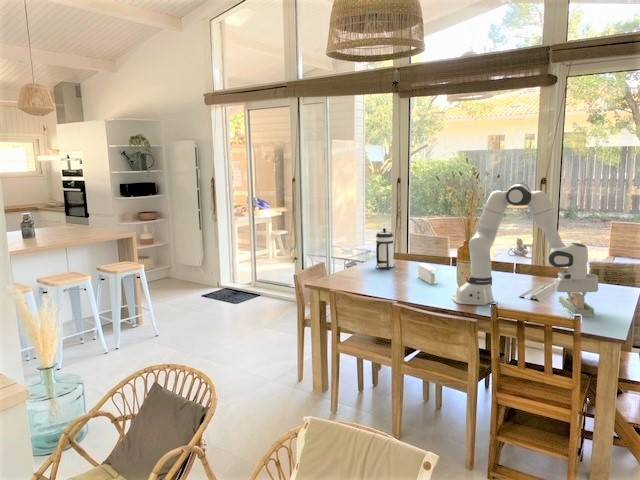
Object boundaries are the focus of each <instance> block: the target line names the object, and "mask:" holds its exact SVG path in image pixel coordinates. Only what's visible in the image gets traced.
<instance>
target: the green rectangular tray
mask: <svg viewBox="0 0 640 480" xmlns="http://www.w3.org/2000/svg"><path fill="white" fill-rule="evenodd" d="M558 299H559V300H558V303H561V304H562V305H563V306H564V307H565V308H567V309H568V310H569V311H571V312H572V313H573V314H581V315H582V317H583V316H587V317H588V318H589V317H594V314H595V309H594V307H592V306H591V305H589V304H588V303H587V302H586V301H584V309H578V308H576V307H575V306H574V305H573V304H572V303H571V302H570V301H569V300H568V297H565V296H561V295H559V297H558ZM561 304H560V305H561ZM562 305H561V306H562ZM563 306H562V307H563ZM564 307H563V308H564ZM565 308H564V309H565ZM568 310H567V311H568ZM569 311H568V312H569Z"/></svg>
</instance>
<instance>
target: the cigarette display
mask: <svg viewBox="0 0 640 480" xmlns="http://www.w3.org/2000/svg"><path fill="white" fill-rule="evenodd" d="M417 270H418V278H420V279H421V280H423V281H424V282H426V283H428V284H429V285H433V284H438V282H437V281H436V276H435V275H436V274H435V273H433V272H432V271H438V269H437V268H436V267H434V266H432V265H430V264H428V263H418V269H417Z"/></svg>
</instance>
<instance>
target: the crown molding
mask: <svg viewBox="0 0 640 480" xmlns="http://www.w3.org/2000/svg"><path fill="white" fill-rule="evenodd" d="M555 284H556V282H553V283H551V284H548V285H547V286H546V287H545V288H544V289H542V290H540V291H539V292H537V293H535V294H533V295H532V296H531V297H530V298H532V299H533V300H535V299H540V298H542V297H544V296H545V295H547V294H549V293H551V292H554V291H555V290H556V289H555ZM544 286H545V285H544V284H543V283H540V284H538V285H537V286H535V287H533V288H531V289H528V290H527V291H526V292H524V293H522V294H521V295H519V296H518V298H522V297H525V296H526V295H528V294H530V293H532V292H534V291H536V290H538V289H540V288H542V287H544ZM555 292H556V291H555ZM555 292H554V293H555Z"/></svg>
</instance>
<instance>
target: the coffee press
mask: <svg viewBox="0 0 640 480" xmlns="http://www.w3.org/2000/svg"><path fill="white" fill-rule="evenodd" d="M393 237H394V235H393V233H392V232H391V231H387V229H386V228H383V229H382V231H379V232H377V233H376V235H375V238H376V240H375V244H376V248H375V250H376V252H375V254H376V265H375V269H379V268H386V270H387V271H388V270H390V267H392V268H395V267H396V265H395V264H394V238H393Z"/></svg>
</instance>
